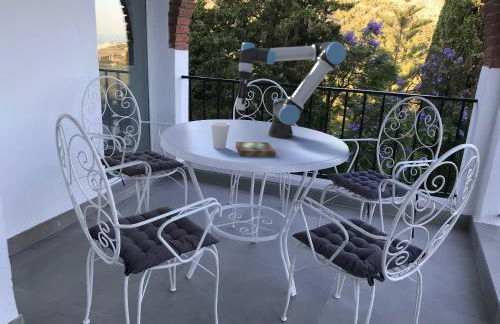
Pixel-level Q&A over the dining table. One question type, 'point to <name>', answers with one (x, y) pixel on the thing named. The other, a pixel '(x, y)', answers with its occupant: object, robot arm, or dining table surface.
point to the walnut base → (255, 149)
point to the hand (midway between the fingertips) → (240, 110)
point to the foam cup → (219, 134)
